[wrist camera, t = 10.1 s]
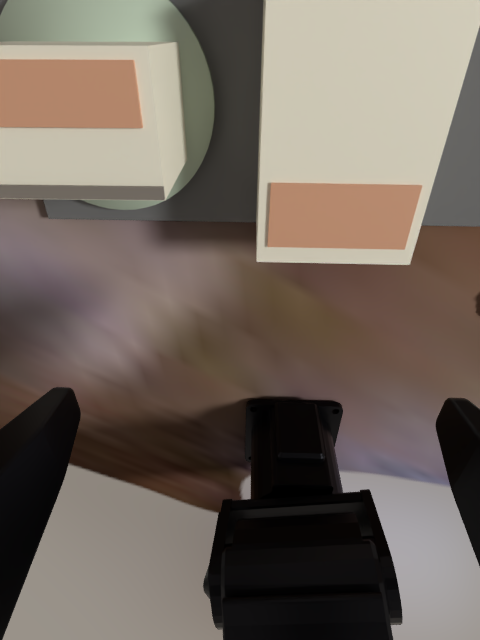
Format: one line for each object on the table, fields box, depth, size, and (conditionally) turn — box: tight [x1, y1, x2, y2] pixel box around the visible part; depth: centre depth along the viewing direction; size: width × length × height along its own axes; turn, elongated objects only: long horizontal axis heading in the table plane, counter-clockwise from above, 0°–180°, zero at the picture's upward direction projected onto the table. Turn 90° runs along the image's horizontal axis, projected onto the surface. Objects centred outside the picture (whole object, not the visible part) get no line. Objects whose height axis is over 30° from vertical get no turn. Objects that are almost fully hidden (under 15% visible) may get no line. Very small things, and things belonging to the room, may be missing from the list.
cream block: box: [0, 41, 187, 201], centre depth 13 cm, size 4×6×5 cm, turn 90°
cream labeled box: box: [256, 0, 480, 265], centre depth 14 cm, size 9×6×4 cm, turn 0°
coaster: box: [0, 0, 215, 210], centre depth 16 cm, size 8×8×1 cm
